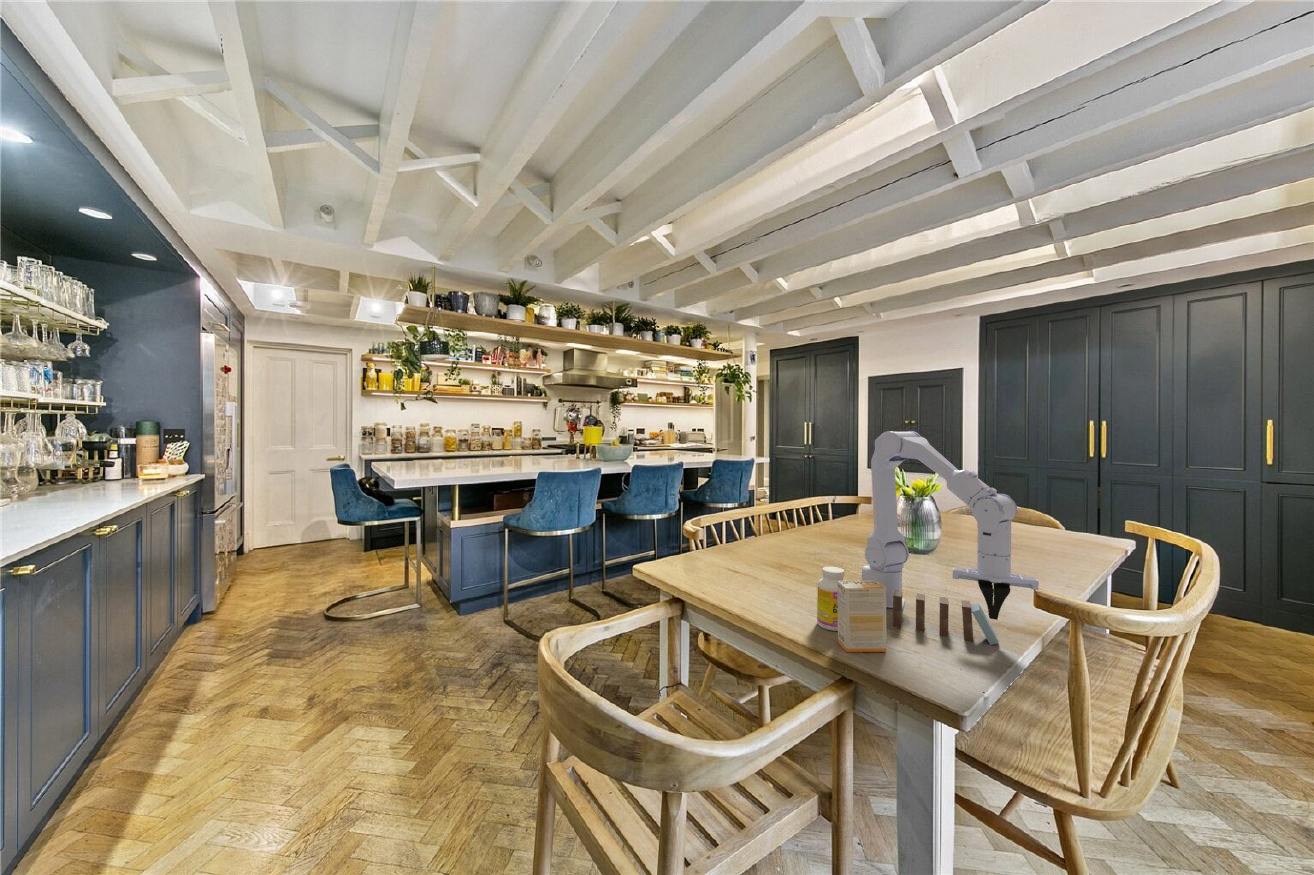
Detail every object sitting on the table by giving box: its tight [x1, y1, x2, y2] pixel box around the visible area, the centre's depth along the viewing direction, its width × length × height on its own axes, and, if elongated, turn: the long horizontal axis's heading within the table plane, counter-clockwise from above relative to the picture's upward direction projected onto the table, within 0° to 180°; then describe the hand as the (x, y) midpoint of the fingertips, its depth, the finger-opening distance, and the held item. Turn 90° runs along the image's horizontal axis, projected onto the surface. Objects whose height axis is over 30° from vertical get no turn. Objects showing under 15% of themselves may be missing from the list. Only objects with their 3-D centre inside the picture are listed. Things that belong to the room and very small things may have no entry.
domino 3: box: [938, 596, 950, 638], centre depth 103 cm, size 2×4×7 cm, turn 149°
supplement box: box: [837, 580, 887, 653], centre depth 96 cm, size 8×5×13 cm, turn 90°
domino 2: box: [915, 592, 926, 633], centre depth 105 cm, size 2×4×7 cm, turn 149°
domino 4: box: [961, 599, 974, 642], centre depth 101 cm, size 2×4×7 cm, turn 149°
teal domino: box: [971, 602, 1000, 646], centre depth 99 cm, size 2×4×7 cm, turn 148°
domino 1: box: [892, 590, 903, 629], centre depth 108 cm, size 2×4×7 cm, turn 149°
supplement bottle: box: [816, 566, 845, 632], centre depth 106 cm, size 7×7×13 cm
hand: (993, 617), depth 99 cm, fingers closed
